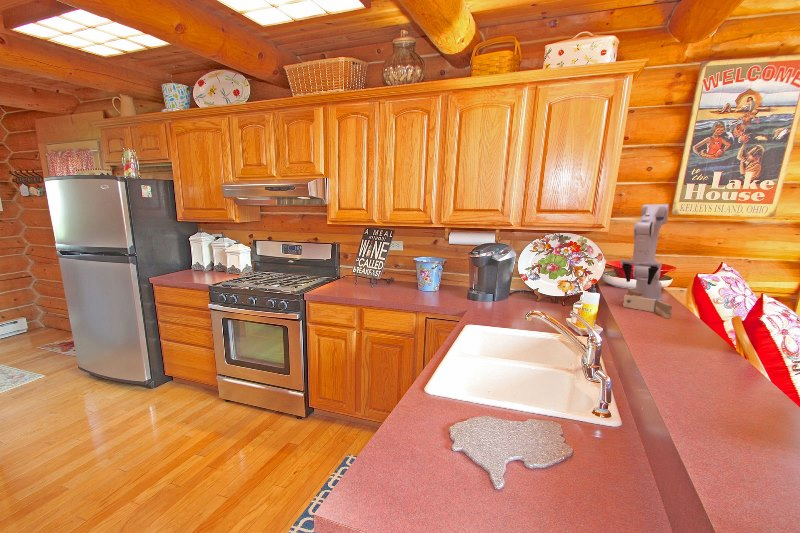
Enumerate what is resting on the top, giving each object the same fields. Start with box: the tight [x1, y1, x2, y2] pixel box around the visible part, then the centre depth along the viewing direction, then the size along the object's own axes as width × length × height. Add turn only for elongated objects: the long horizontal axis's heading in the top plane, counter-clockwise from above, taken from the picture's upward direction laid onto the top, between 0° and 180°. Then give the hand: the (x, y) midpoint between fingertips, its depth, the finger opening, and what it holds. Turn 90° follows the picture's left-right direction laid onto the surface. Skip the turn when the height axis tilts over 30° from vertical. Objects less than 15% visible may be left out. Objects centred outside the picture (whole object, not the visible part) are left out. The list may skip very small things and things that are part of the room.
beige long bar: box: [627, 289, 673, 319], centre depth 148 cm, size 2×28×5 cm, turn 174°
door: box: [622, 294, 659, 313], centre depth 146 cm, size 2×12×5 cm, turn 40°
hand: (638, 282), depth 149 cm, fingers open, 7 cm apart
